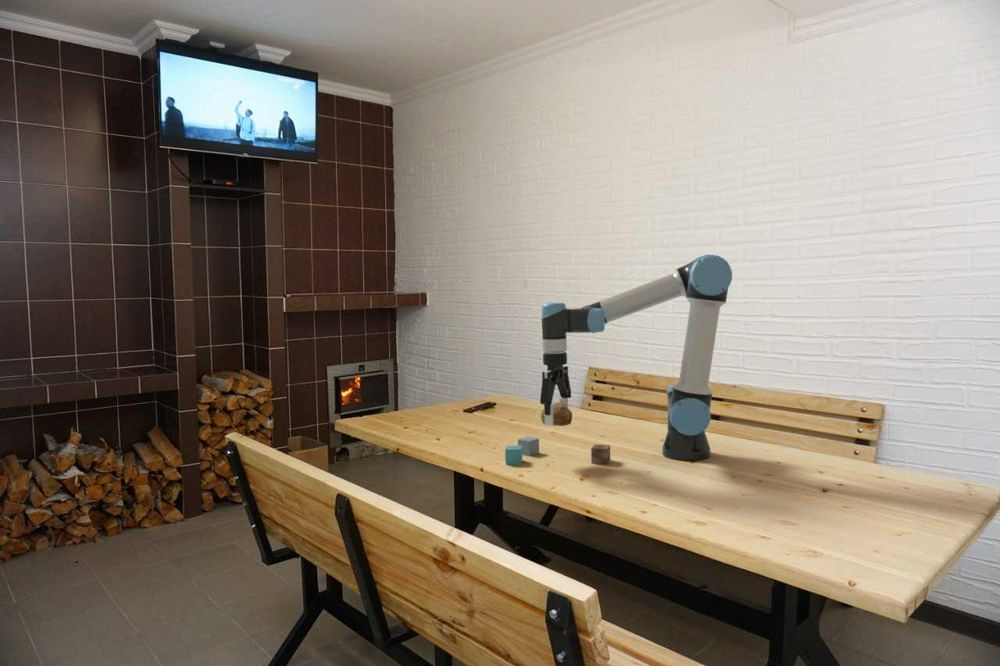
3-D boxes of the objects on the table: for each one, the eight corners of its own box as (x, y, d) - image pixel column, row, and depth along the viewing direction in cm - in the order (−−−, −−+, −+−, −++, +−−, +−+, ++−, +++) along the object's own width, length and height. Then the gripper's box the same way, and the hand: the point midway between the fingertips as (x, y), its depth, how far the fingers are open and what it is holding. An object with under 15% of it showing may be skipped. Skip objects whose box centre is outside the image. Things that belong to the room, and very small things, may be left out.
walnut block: (610, 460, 226) (610, 445, 225) (607, 464, 221) (606, 449, 221) (595, 459, 228) (594, 444, 227) (591, 463, 223) (591, 448, 222)
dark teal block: (522, 460, 229) (521, 445, 228) (521, 464, 224) (520, 449, 223) (507, 460, 229) (506, 445, 229) (505, 464, 224) (505, 449, 224)
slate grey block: (539, 453, 237) (538, 438, 237) (529, 456, 234) (528, 441, 233) (528, 450, 241) (528, 436, 240) (518, 453, 237) (517, 439, 237)
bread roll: (538, 435, 223) (533, 414, 219) (549, 415, 231) (545, 395, 227) (568, 437, 218) (563, 416, 215) (578, 417, 226) (573, 396, 222)
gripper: (559, 347, 233) (561, 413, 235) (527, 356, 213) (529, 428, 215) (580, 348, 229) (582, 415, 231) (549, 356, 209) (551, 430, 211)
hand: (556, 421), depth 223 cm, fingers closed on bread roll, 10 cm apart
